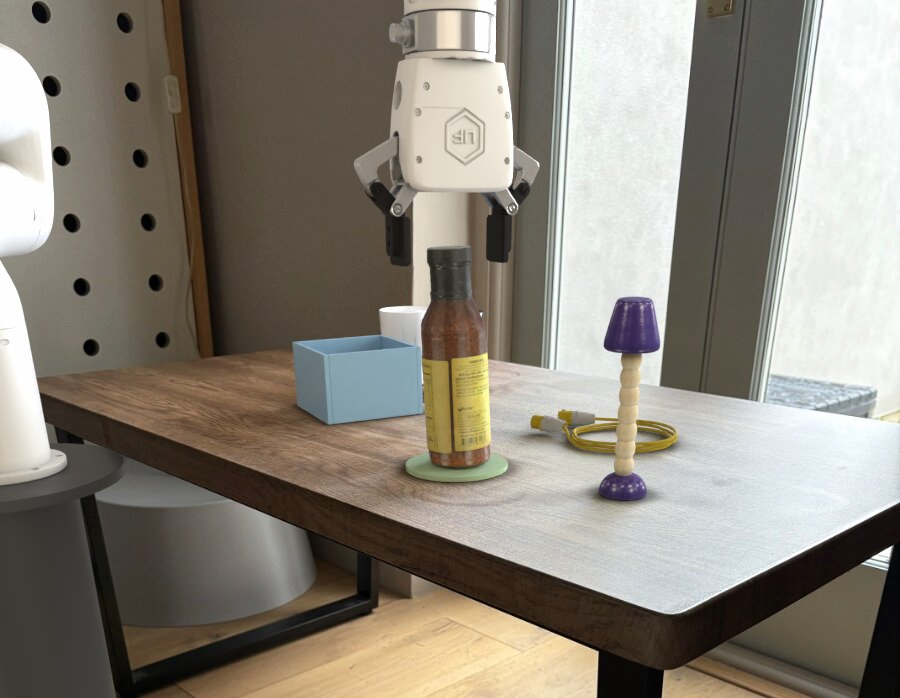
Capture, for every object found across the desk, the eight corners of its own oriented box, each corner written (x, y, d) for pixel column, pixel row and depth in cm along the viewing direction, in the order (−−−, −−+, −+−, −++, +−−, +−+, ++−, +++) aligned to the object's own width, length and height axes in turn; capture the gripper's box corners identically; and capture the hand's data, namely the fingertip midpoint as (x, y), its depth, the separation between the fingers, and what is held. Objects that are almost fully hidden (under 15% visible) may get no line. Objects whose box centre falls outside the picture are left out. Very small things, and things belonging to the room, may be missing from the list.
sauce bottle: (495, 455, 93) (496, 244, 85) (484, 472, 88) (484, 247, 80) (431, 453, 94) (426, 244, 86) (417, 469, 89) (410, 248, 81)
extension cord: (608, 416, 110) (609, 400, 110) (701, 444, 98) (703, 425, 97) (522, 429, 105) (522, 412, 104) (609, 461, 92) (610, 441, 92)
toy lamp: (659, 498, 81) (675, 299, 74) (612, 505, 79) (624, 302, 73) (631, 484, 85) (643, 293, 78) (585, 490, 84) (594, 296, 77)
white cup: (429, 375, 137) (427, 304, 133) (443, 384, 130) (441, 310, 126) (376, 378, 136) (373, 307, 131) (388, 388, 129) (385, 313, 125)
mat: (431, 487, 85) (431, 482, 85) (390, 462, 93) (389, 457, 93) (526, 473, 89) (526, 468, 89) (478, 450, 97) (478, 445, 97)
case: (328, 424, 109) (323, 355, 106) (297, 405, 119) (292, 341, 116) (423, 413, 114) (421, 346, 110) (385, 396, 124) (382, 334, 121)
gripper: (368, 30, 70) (375, 270, 77) (563, 44, 77) (553, 263, 84) (335, 43, 76) (344, 263, 83) (518, 55, 83) (513, 258, 90)
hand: (449, 263), depth 84 cm, fingers open, 9 cm apart
